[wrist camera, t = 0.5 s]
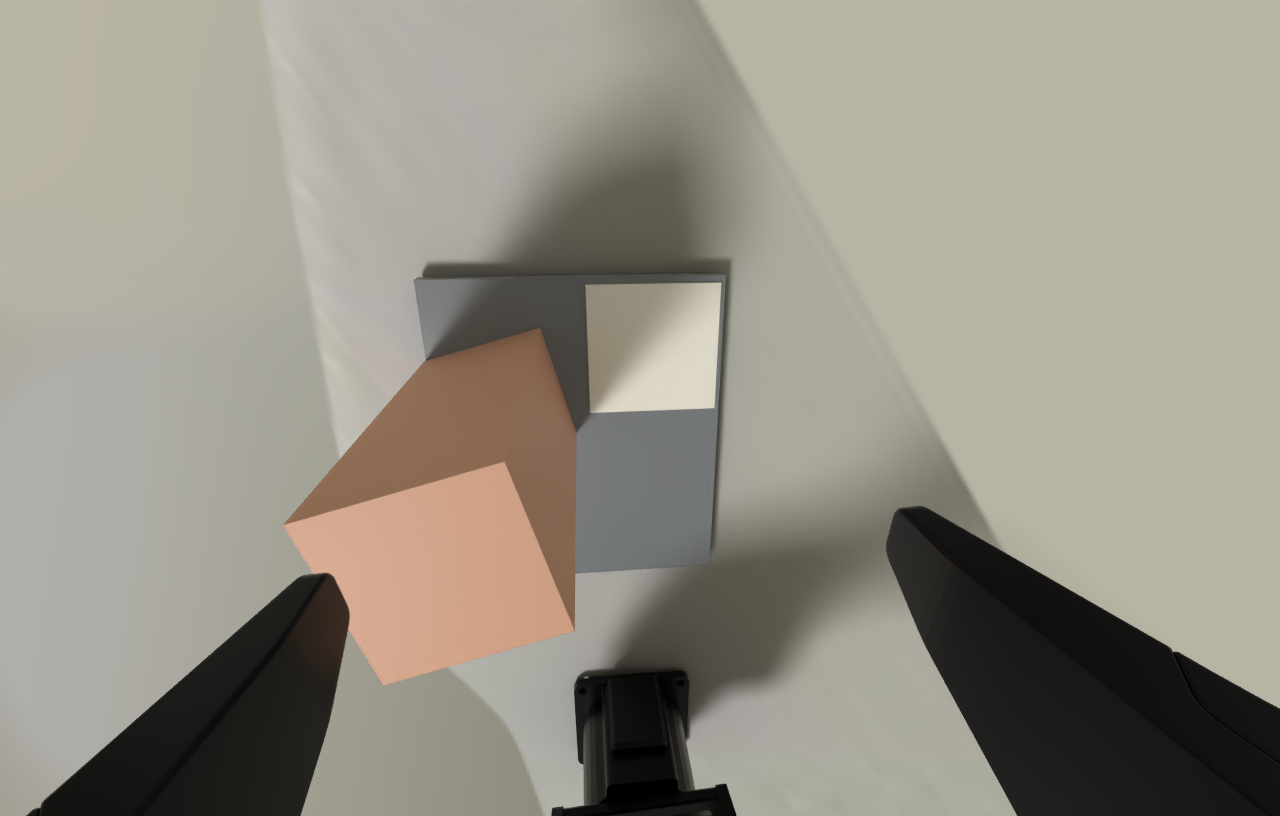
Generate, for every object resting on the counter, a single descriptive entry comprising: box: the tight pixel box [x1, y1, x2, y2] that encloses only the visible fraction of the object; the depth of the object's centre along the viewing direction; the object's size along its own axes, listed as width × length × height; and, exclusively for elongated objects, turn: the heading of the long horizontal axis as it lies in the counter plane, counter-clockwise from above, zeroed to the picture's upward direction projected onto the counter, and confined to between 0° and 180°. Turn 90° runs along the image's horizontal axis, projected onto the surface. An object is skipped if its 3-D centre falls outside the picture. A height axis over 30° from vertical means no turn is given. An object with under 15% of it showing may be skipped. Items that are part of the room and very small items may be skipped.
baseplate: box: [414, 273, 726, 573], centre depth 25 cm, size 15×12×1 cm
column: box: [283, 328, 577, 685], centre depth 19 cm, size 5×5×12 cm
